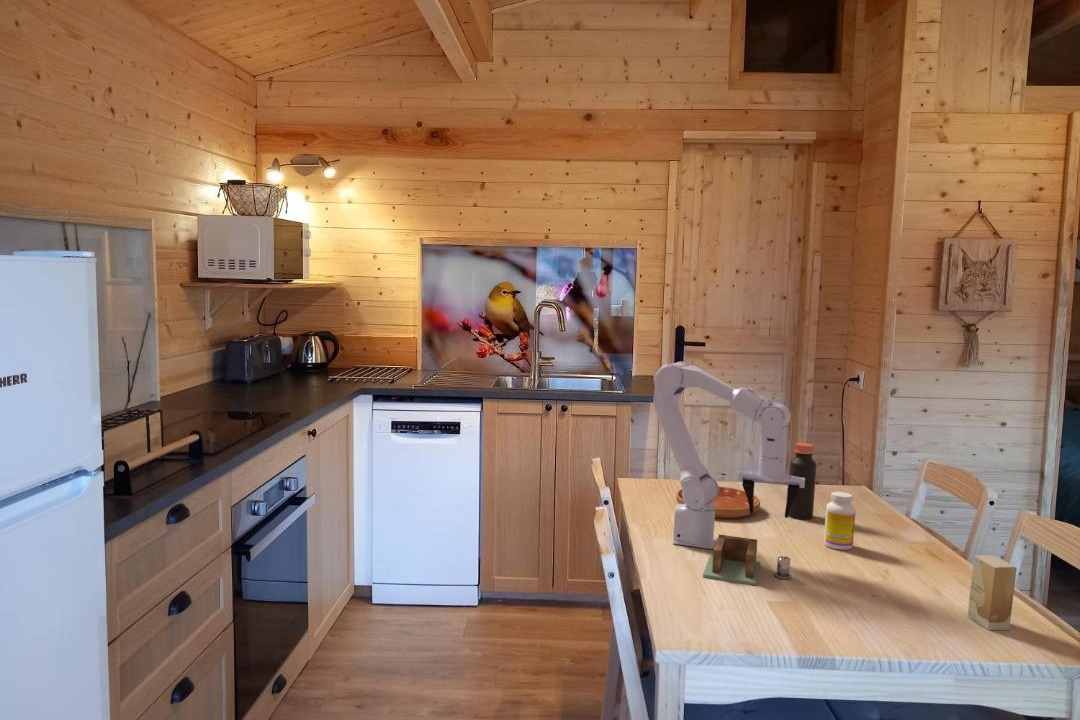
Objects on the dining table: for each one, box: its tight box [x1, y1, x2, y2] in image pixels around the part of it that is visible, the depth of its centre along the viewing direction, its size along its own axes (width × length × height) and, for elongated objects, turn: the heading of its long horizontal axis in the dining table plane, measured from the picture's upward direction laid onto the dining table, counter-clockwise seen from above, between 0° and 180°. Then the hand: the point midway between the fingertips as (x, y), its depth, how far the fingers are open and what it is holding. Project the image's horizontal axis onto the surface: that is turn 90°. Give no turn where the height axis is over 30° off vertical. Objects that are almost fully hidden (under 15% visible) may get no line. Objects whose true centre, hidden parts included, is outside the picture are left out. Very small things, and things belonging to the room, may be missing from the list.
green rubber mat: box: [702, 554, 761, 586], centre depth 163 cm, size 11×13×1 cm
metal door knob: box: [774, 555, 792, 581], centre depth 160 cm, size 3×3×4 cm
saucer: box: [675, 485, 761, 519], centre depth 210 cm, size 23×23×4 cm
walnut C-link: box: [712, 534, 758, 578], centre depth 163 cm, size 8×11×5 cm
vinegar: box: [788, 442, 817, 521], centre depth 204 cm, size 7×7×20 cm
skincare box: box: [967, 554, 1017, 631], centre depth 140 cm, size 6×4×12 cm
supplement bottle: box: [823, 491, 856, 551], centre depth 181 cm, size 7×7×13 cm
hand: (768, 514), depth 172 cm, fingers open, 7 cm apart
